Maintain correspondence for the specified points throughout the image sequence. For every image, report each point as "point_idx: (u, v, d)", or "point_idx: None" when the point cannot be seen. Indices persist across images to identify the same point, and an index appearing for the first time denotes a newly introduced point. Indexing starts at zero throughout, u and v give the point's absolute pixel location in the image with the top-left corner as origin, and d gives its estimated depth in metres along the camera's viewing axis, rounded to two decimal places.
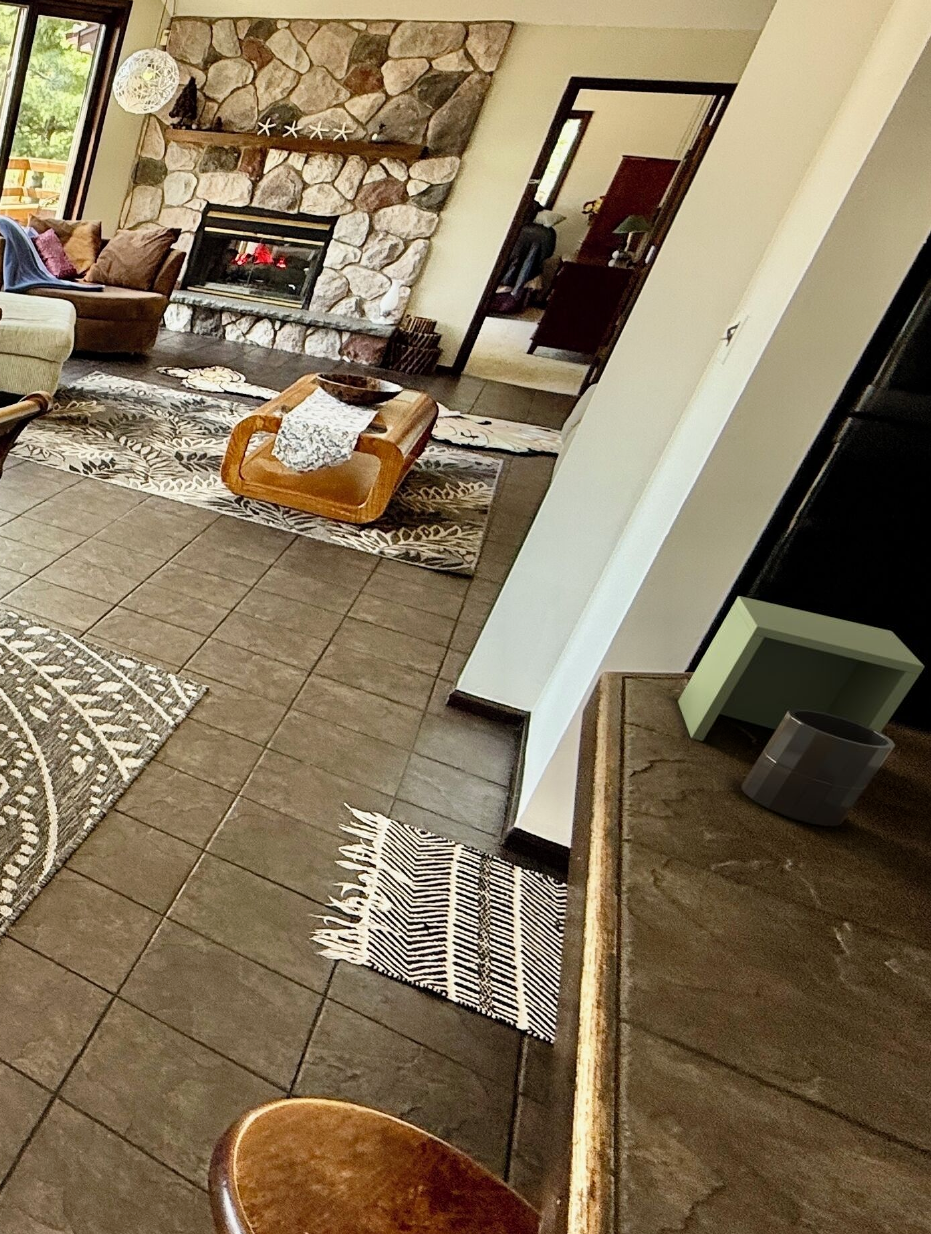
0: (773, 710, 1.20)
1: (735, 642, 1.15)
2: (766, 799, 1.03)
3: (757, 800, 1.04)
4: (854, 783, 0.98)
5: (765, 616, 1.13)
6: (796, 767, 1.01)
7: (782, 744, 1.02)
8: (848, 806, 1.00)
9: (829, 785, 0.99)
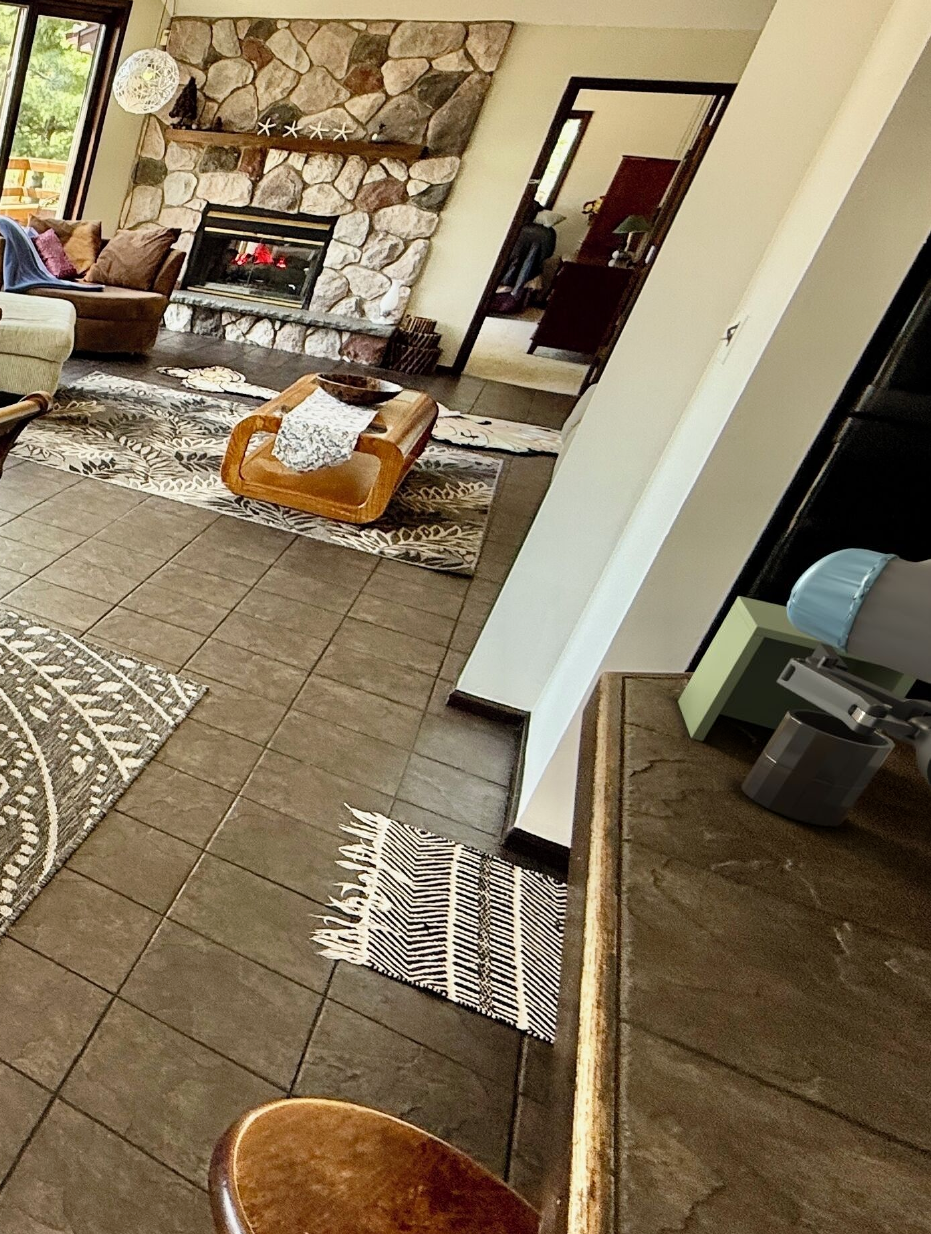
0: (773, 710, 1.20)
1: (735, 642, 1.15)
2: (766, 799, 1.03)
3: (757, 800, 1.04)
4: (854, 783, 0.98)
5: (765, 616, 1.13)
6: (796, 767, 1.01)
7: (782, 744, 1.02)
8: (848, 806, 1.00)
9: (829, 785, 0.99)
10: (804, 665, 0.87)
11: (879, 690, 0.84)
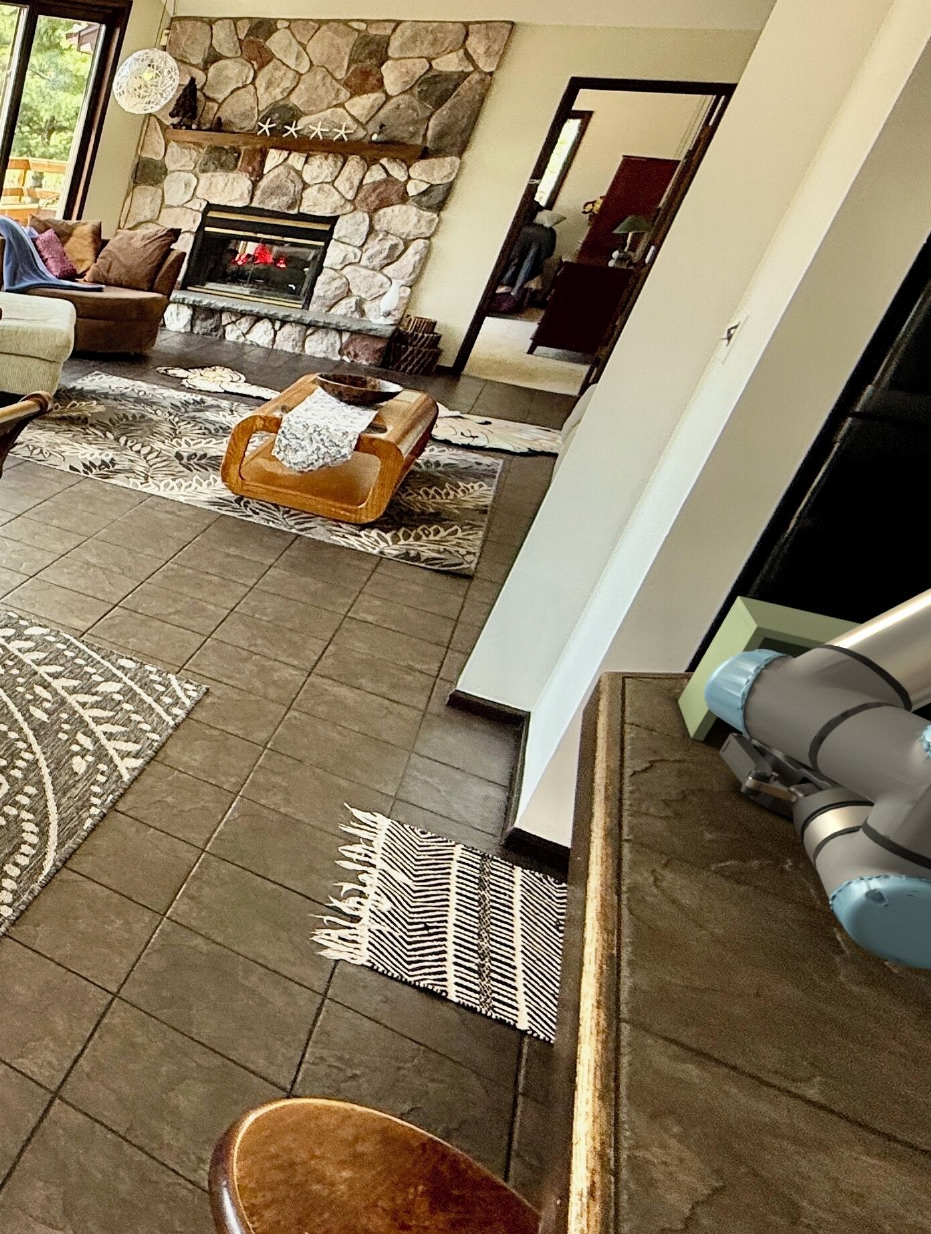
0: None
1: (735, 642, 1.15)
2: (766, 799, 1.03)
3: (757, 800, 1.04)
4: None
5: (765, 616, 1.13)
6: None
7: None
8: None
9: None
10: (735, 739, 1.02)
11: (786, 761, 0.99)
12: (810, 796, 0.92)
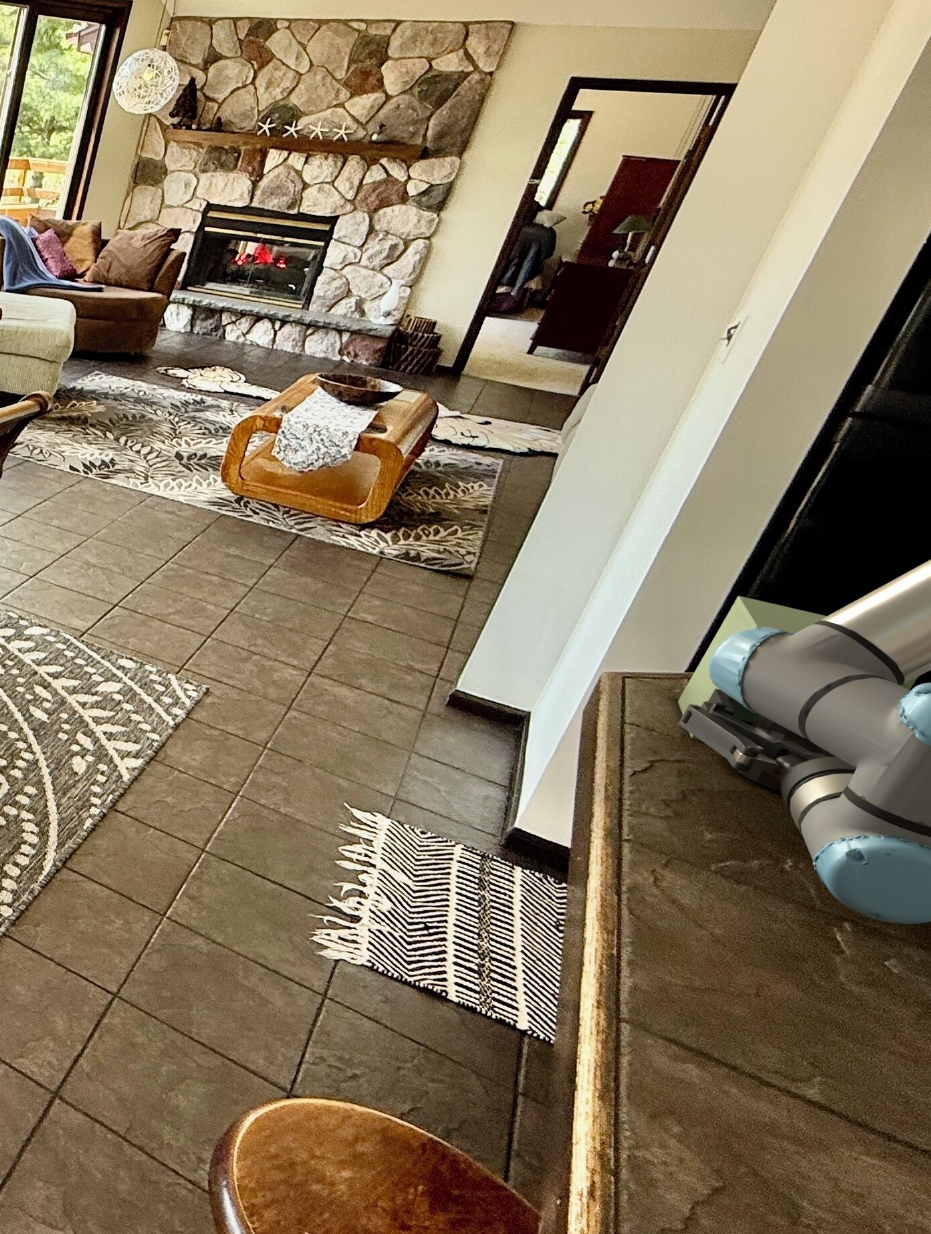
0: None
1: None
2: (754, 773, 1.08)
3: (745, 774, 1.08)
4: None
5: (765, 616, 1.13)
6: None
7: (769, 720, 1.07)
8: None
9: None
10: (698, 711, 1.07)
11: (756, 732, 1.03)
12: (796, 766, 0.97)
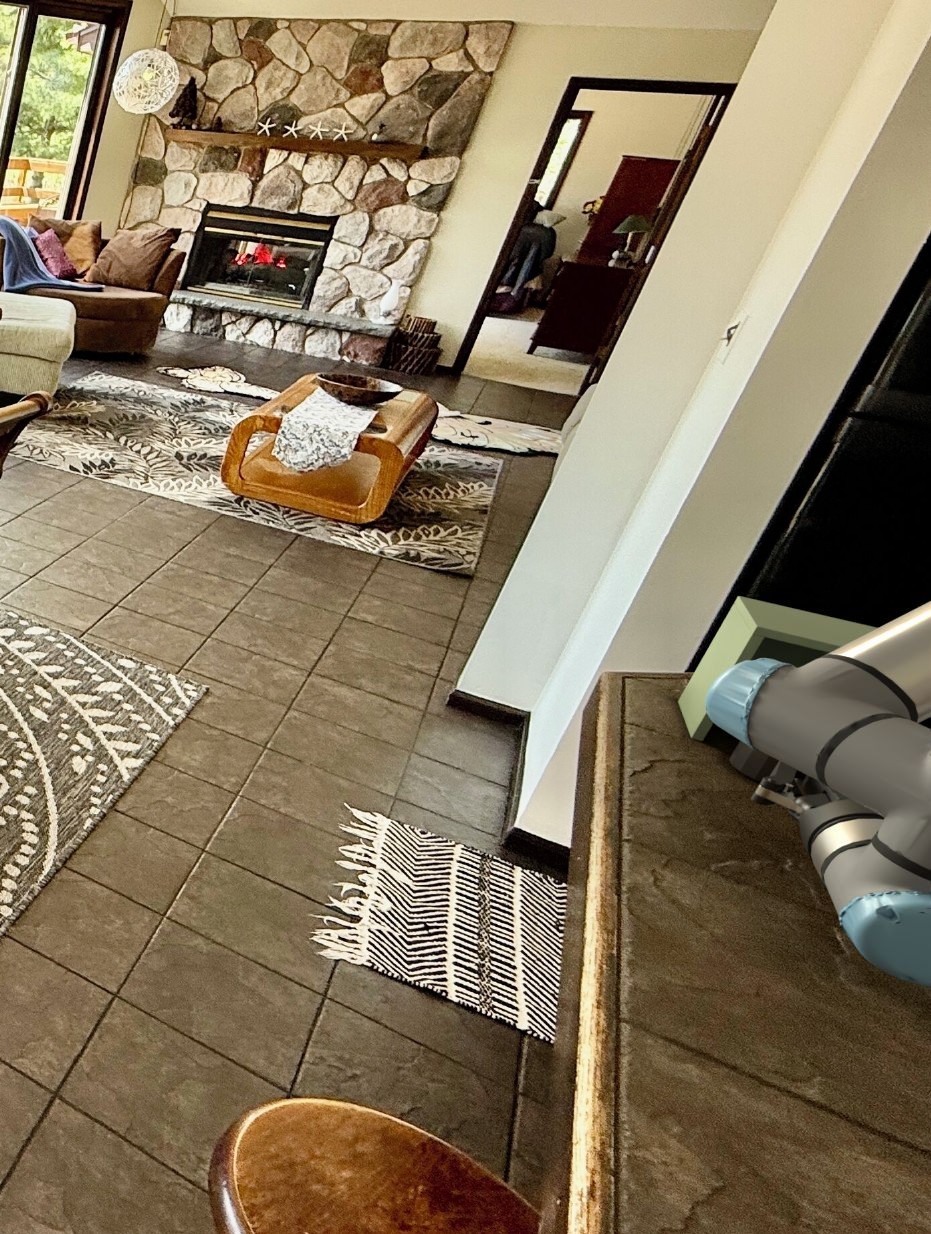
0: None
1: (735, 642, 1.15)
2: (753, 771, 1.08)
3: (744, 772, 1.09)
4: None
5: (765, 616, 1.13)
6: None
7: None
8: None
9: None
10: None
11: None
12: (817, 808, 0.91)
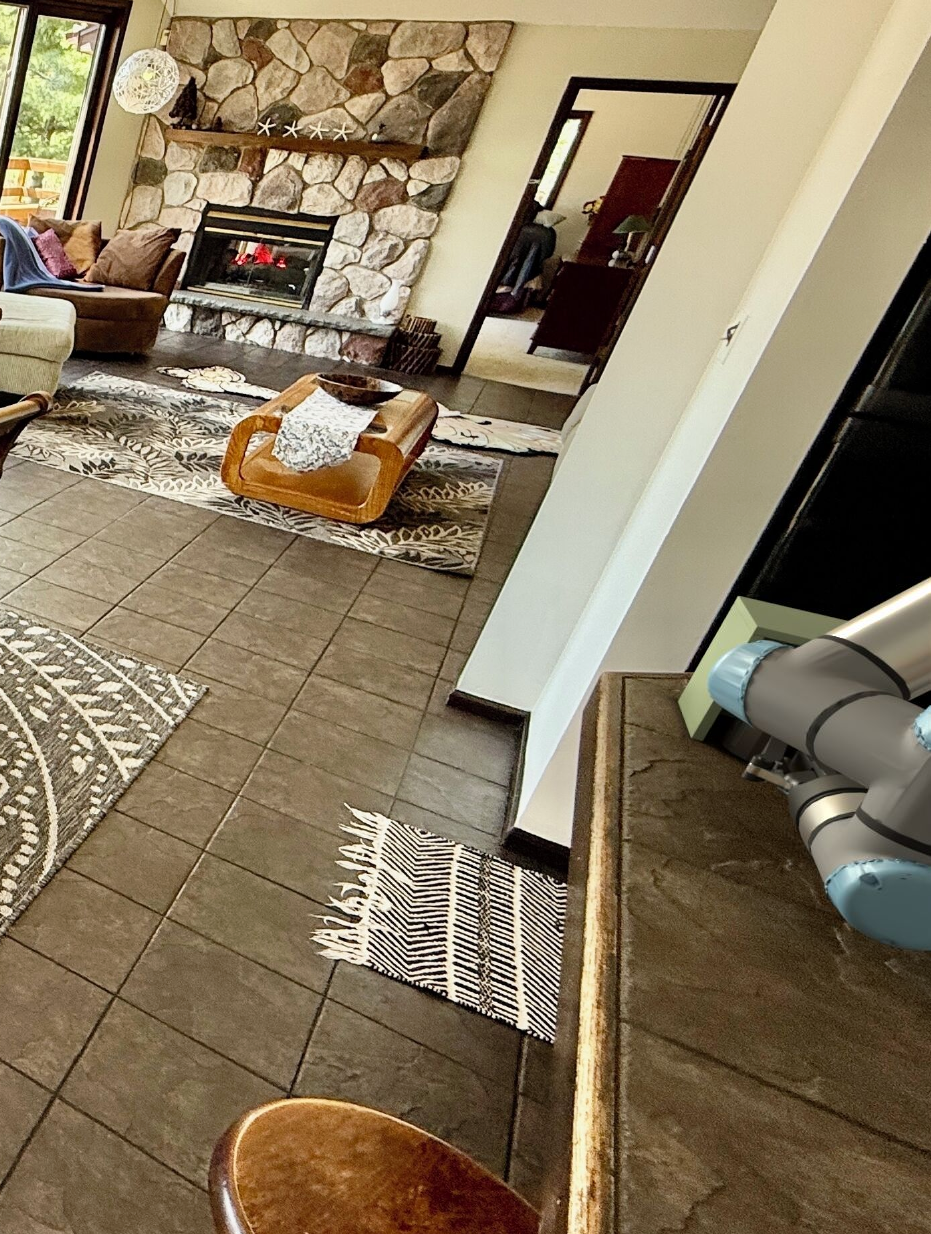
0: None
1: (735, 642, 1.15)
2: (744, 752, 1.12)
3: (736, 753, 1.13)
4: None
5: (765, 616, 1.13)
6: None
7: None
8: None
9: None
10: (773, 737, 1.03)
11: (809, 756, 1.00)
12: (805, 784, 0.94)
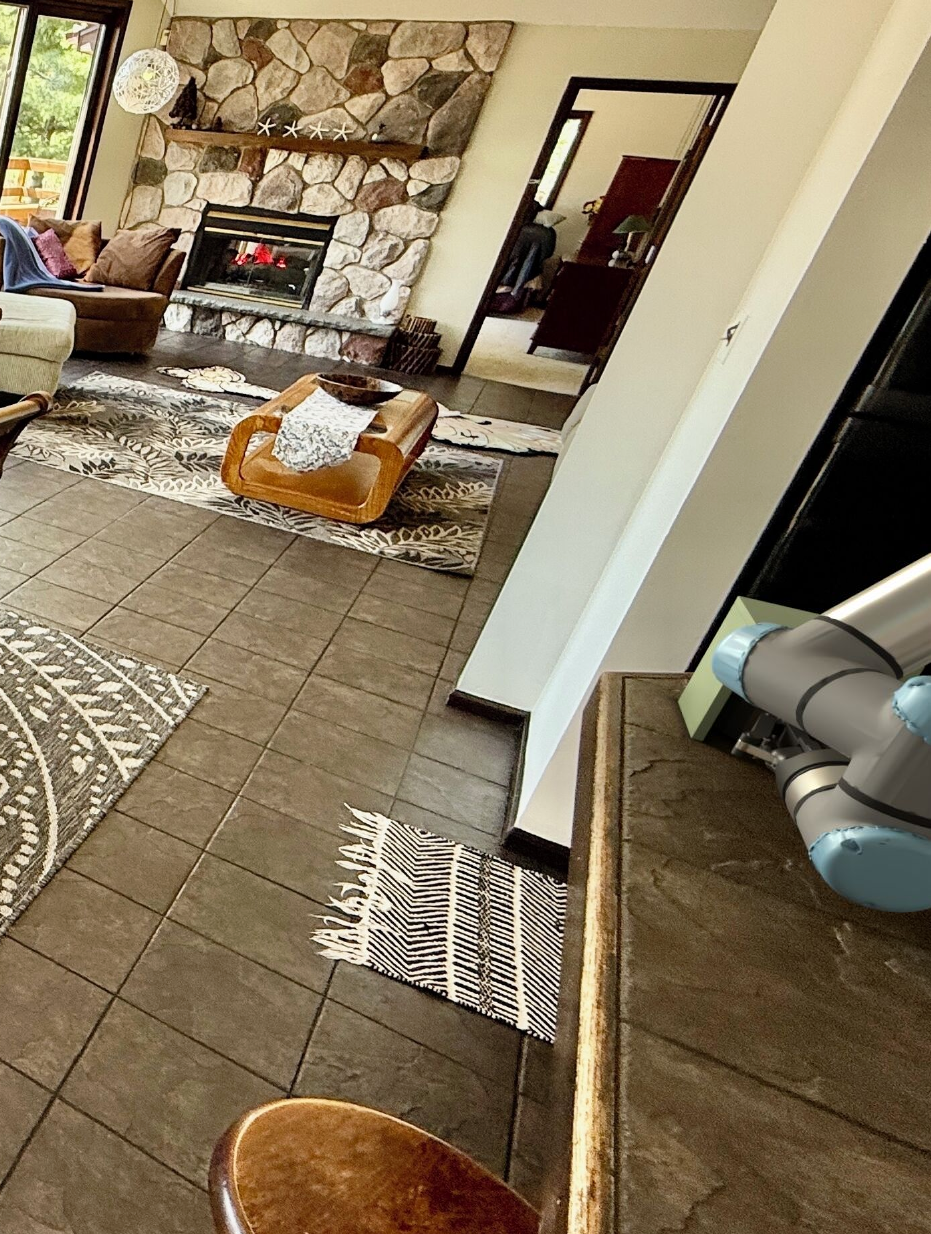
0: None
1: None
2: (734, 731, 1.16)
3: (726, 732, 1.17)
4: None
5: (765, 616, 1.13)
6: None
7: None
8: None
9: None
10: (762, 716, 1.07)
11: (796, 733, 1.04)
12: (791, 758, 0.99)
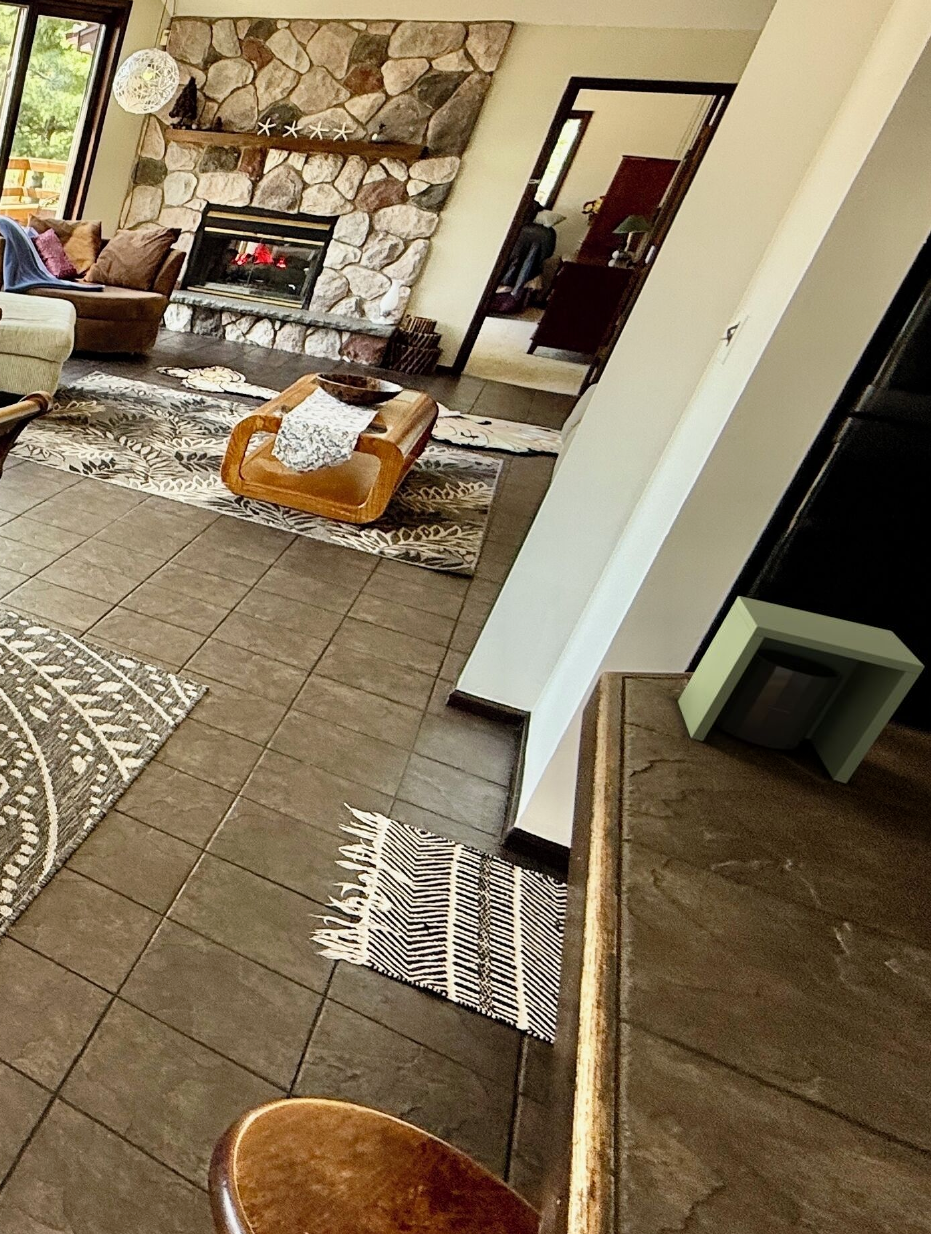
0: None
1: (735, 642, 1.15)
2: (732, 727, 1.17)
3: (725, 729, 1.18)
4: (808, 711, 1.13)
5: (765, 616, 1.13)
6: (758, 698, 1.15)
7: (746, 678, 1.16)
8: (803, 731, 1.14)
9: (786, 713, 1.13)
10: None
11: None
12: None
